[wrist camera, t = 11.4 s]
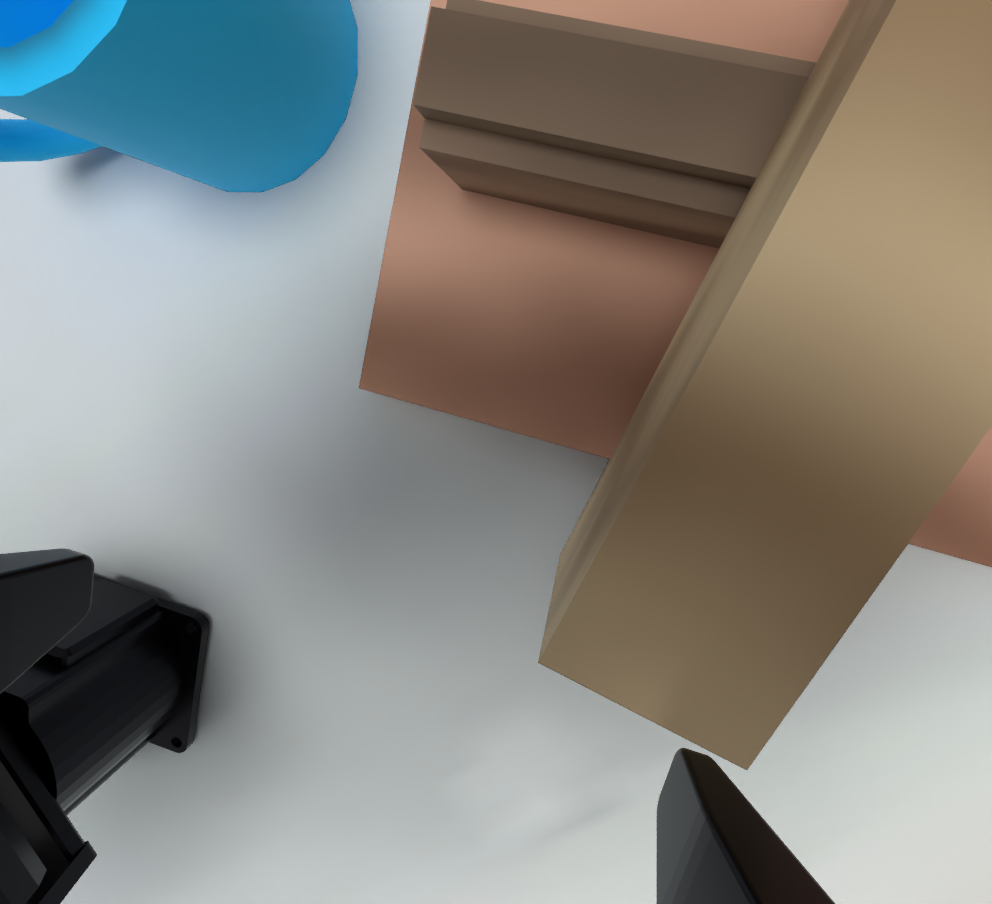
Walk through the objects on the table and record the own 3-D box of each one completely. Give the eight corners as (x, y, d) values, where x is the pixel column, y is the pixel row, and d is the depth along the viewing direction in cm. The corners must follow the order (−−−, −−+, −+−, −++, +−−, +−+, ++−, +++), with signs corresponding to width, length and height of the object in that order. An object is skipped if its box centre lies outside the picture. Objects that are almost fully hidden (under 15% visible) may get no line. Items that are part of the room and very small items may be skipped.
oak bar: (1181, -638, 8) (1864, -1789, 4) (1439, -564, 8) (2514, -1717, 3) (560, 554, 13) (537, 662, 9) (700, 623, 13) (747, 770, 9)
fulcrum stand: (1065, 579, 17) (1303, 708, 11) (373, 384, 20) (276, 407, 14) (1408, -49, 13) (2056, -355, 7) (481, -181, 16) (409, -478, 10)
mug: (285, -156, 17) (3, -583, 9) (402, 116, 18) (240, -55, 10) (6, 63, 20) (-388, -113, 12) (119, 285, 21) (-178, 257, 13)
